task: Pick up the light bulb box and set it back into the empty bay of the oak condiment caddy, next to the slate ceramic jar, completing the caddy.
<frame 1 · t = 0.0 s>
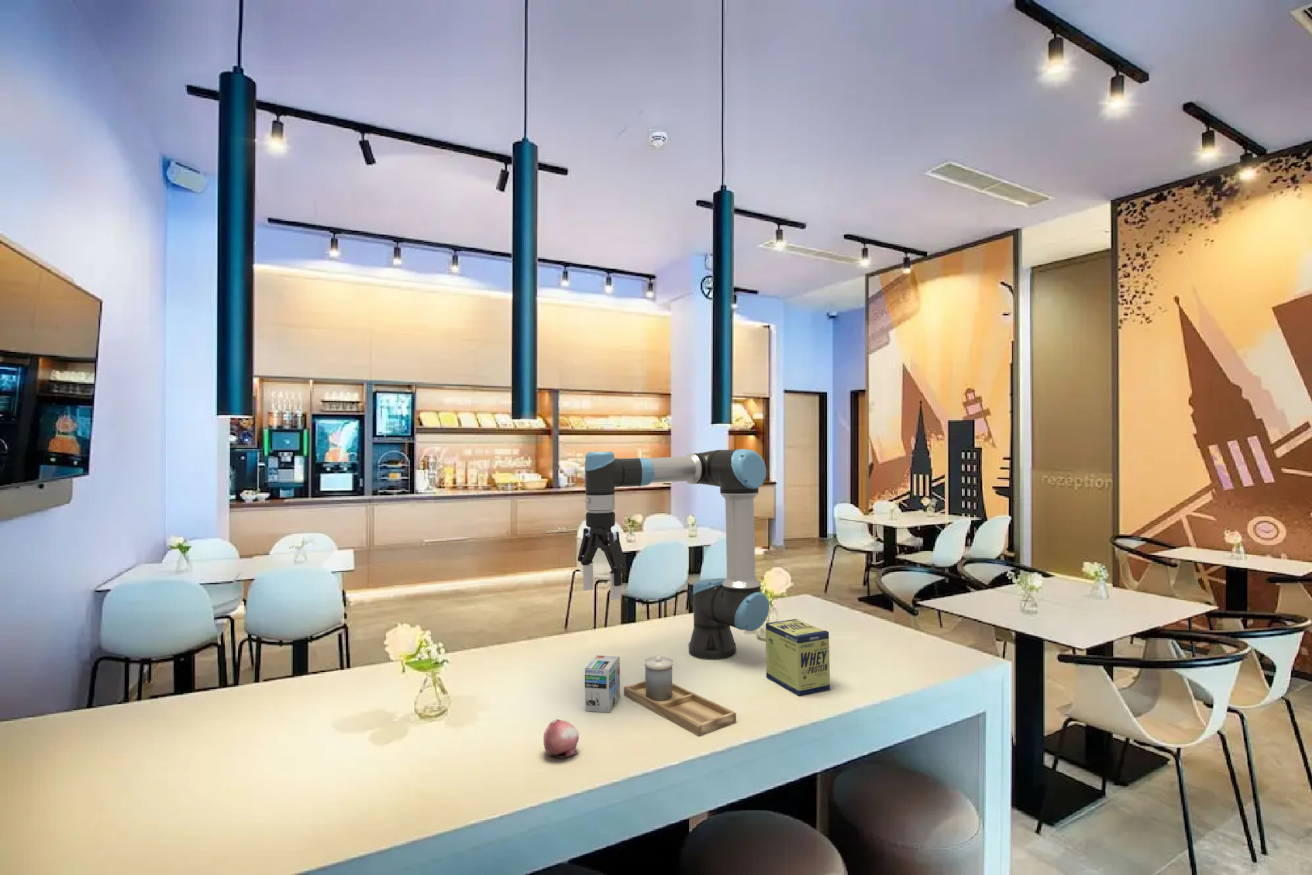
hand: (601, 594, 159), 28 cm above the table, fingers open, 13 cm apart
slate jar: (659, 698, 161), resting on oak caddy
onion: (561, 754, 132), on the table
protein box: (797, 684, 170), on the table
light bulb box: (603, 704, 159), on the table
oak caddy: (676, 707, 155), on the table
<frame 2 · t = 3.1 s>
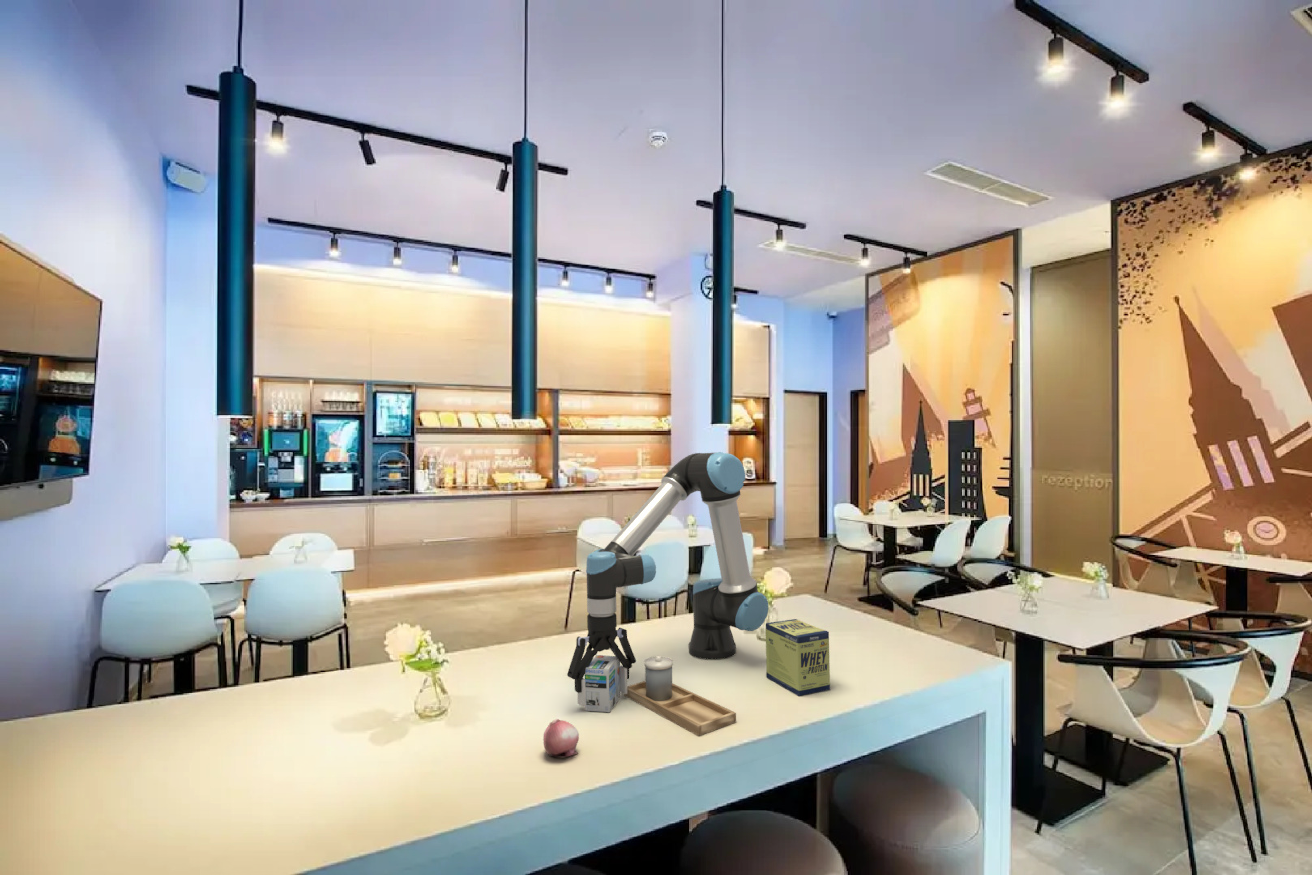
hand: (603, 698, 159), 1 cm above the table, fingers closed on light bulb box, 12 cm apart
light bulb box: (603, 704, 159), on the table, touching gripper
everything else where it was.
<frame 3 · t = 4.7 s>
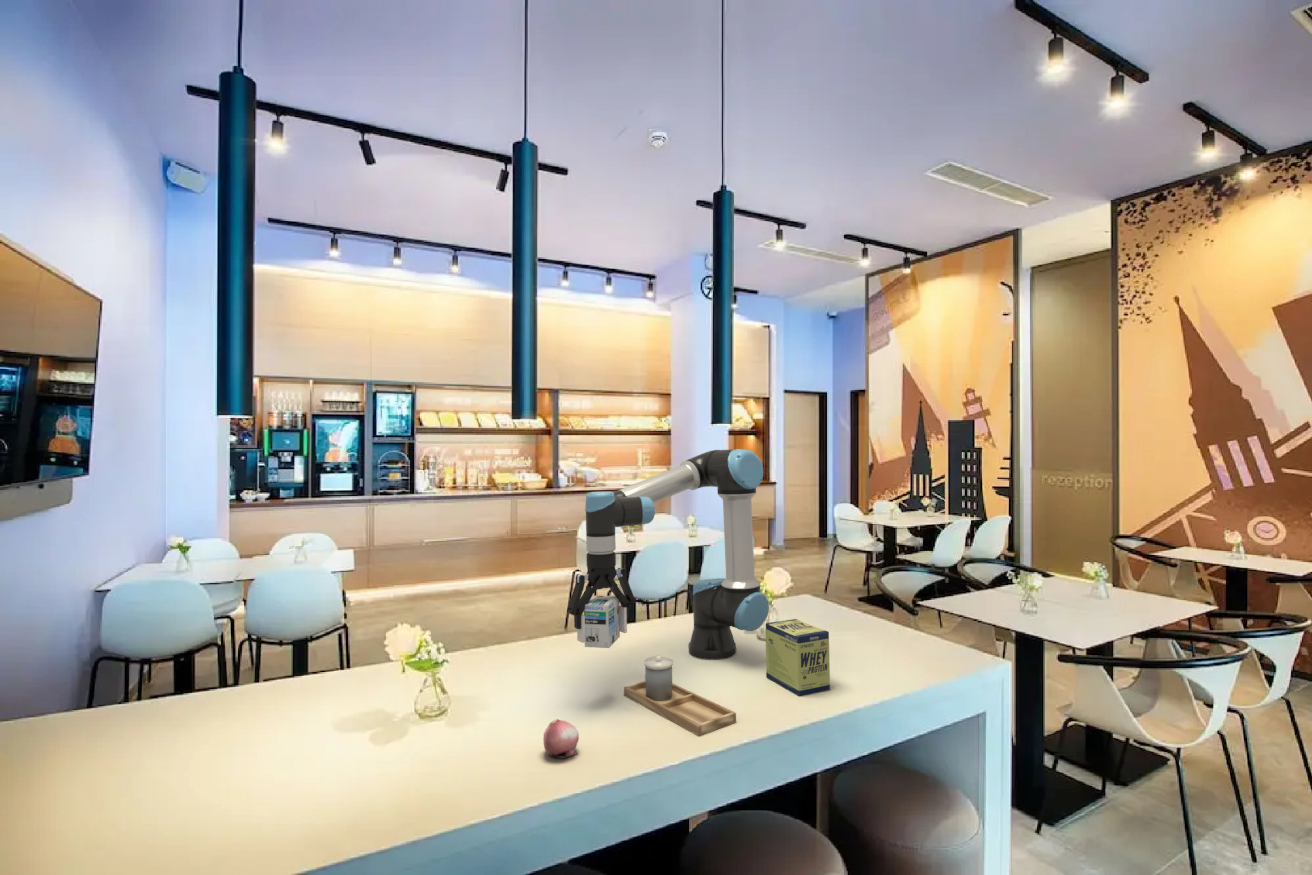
hand: (602, 636, 159), 17 cm above the table, fingers closed on light bulb box, 12 cm apart
light bulb box: (602, 642, 159), point 15 cm above the table, touching gripper
everything else where it was.
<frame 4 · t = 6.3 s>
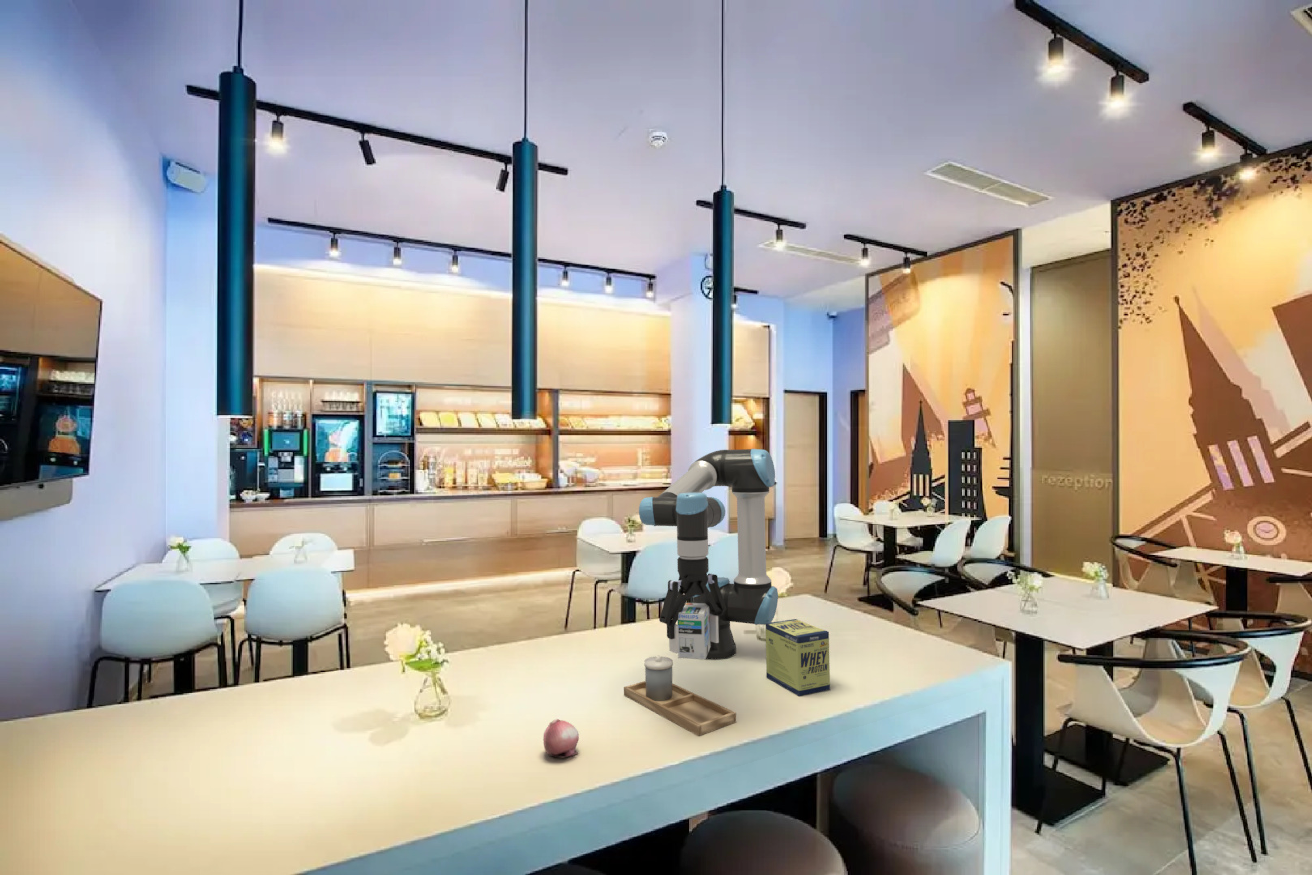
hand: (694, 646, 150), 17 cm above the table, fingers closed on light bulb box, 12 cm apart
light bulb box: (694, 653, 150), point 15 cm above the table, touching gripper
everything else where it was.
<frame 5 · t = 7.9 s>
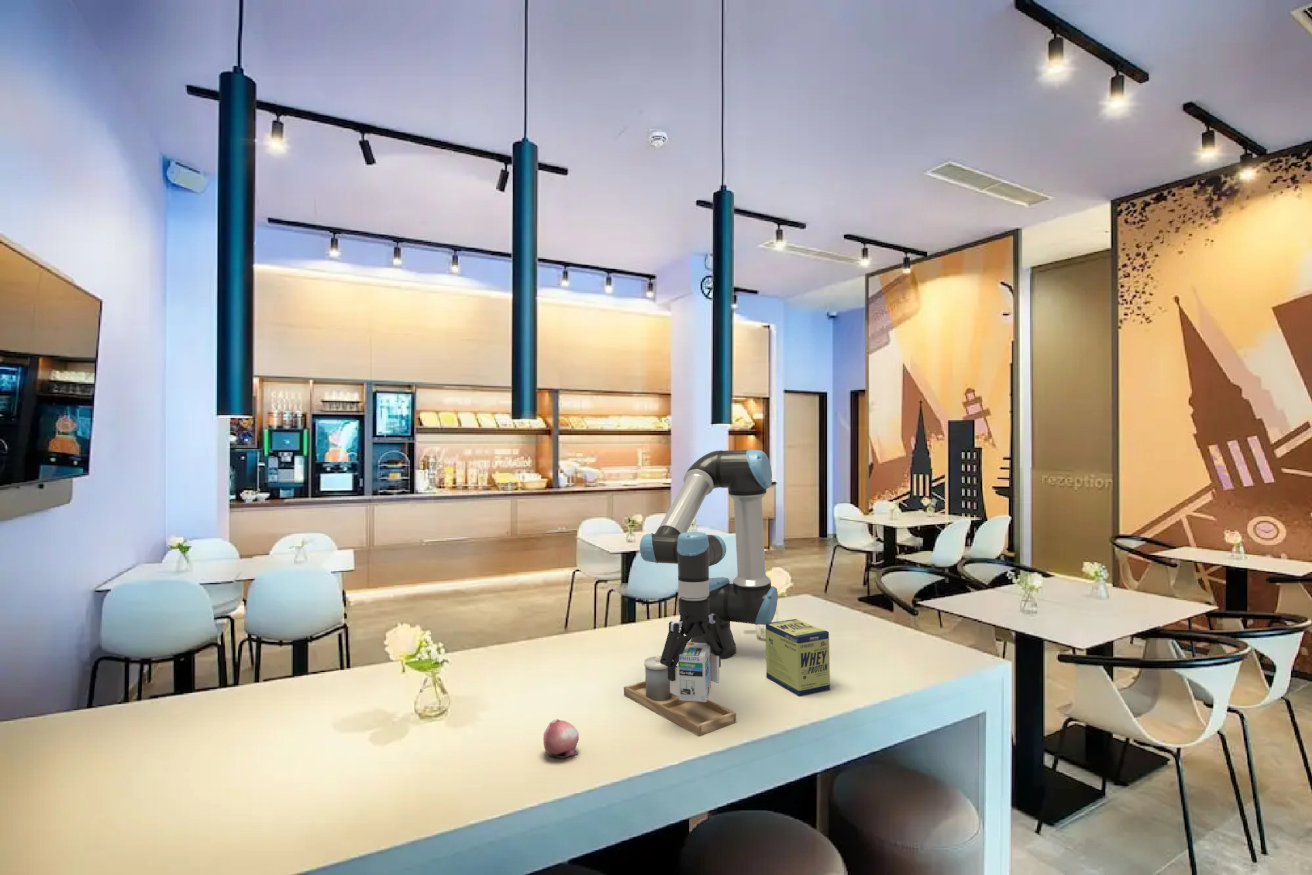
hand: (695, 687, 149), 7 cm above the table, fingers closed on light bulb box, 12 cm apart
light bulb box: (695, 694, 149), point 6 cm above the table, touching gripper
everything else where it was.
when the fingers open (5 cm above the table, at t = 9.5 s): light bulb box drops 1 cm, resting on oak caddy.
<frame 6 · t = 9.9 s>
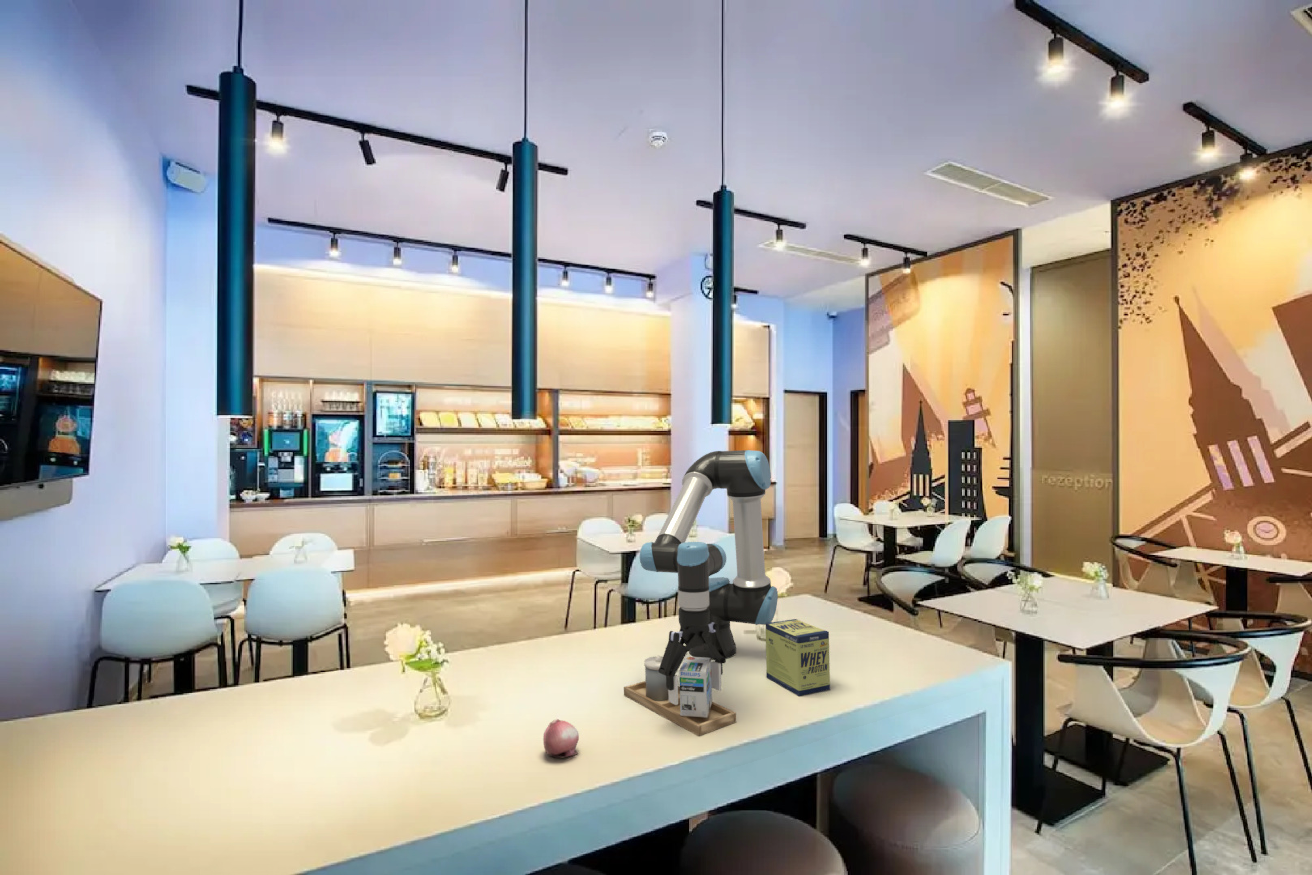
hand: (695, 695, 149), 5 cm above the table, fingers open, 13 cm apart
light bulb box: (696, 709, 149), point 2 cm above the table, touching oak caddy
everything else where it was.
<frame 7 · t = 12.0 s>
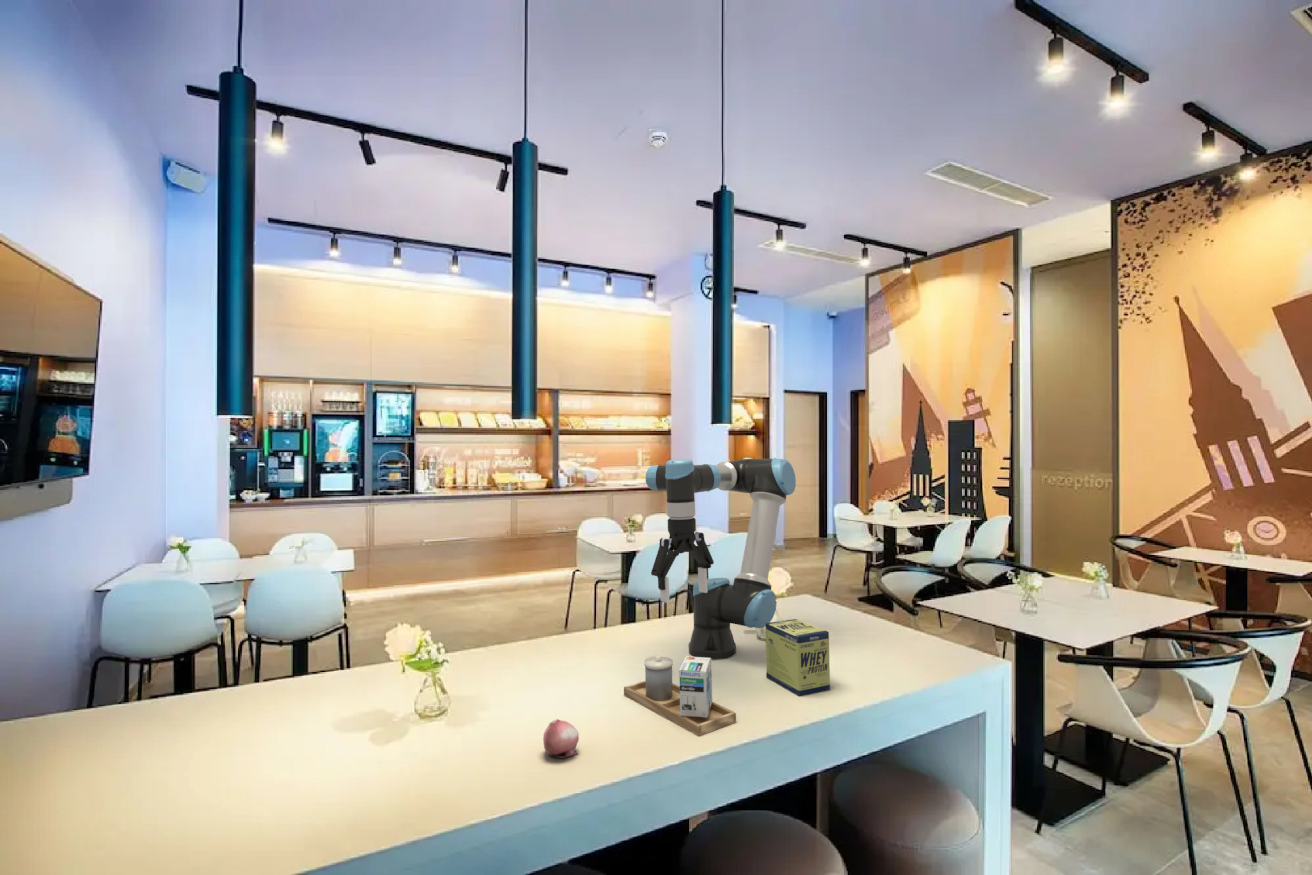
hand: (684, 596, 166), 25 cm above the table, fingers open, 13 cm apart
nothing on the table moved.
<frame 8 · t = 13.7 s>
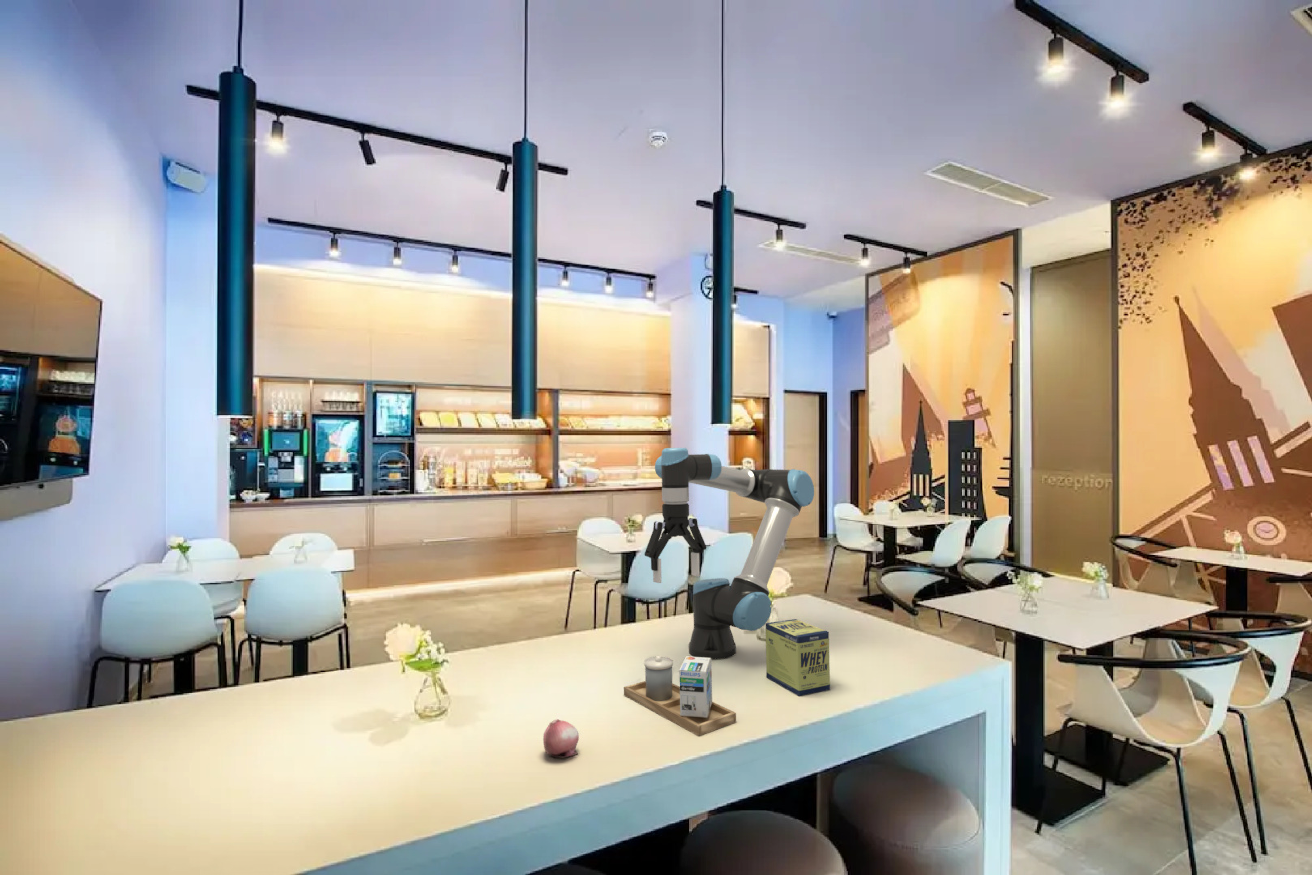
hand: (676, 579, 173), 29 cm above the table, fingers open, 13 cm apart
nothing on the table moved.
at the end: light bulb box 0.2 cm from the target spot on the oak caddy, point 2.0 cm above the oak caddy's base; light bulb box tilted 0°; the gripper is holding nothing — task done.
